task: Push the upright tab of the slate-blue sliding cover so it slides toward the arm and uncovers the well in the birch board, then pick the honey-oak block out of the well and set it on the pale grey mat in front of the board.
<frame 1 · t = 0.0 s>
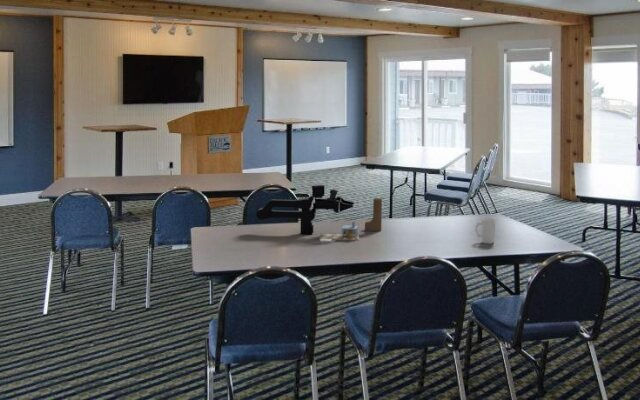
hand: (353, 204, 391), 17 cm above the table, tool horizontal, fingers open, 9 cm apart
block: (349, 238, 384), resting in board
board: (339, 237, 385), on the table
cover: (349, 228, 384), point 5 cm above the table, slide at 0.0 cm
mat: (325, 240, 377), on the table
mug: (484, 242, 375), on the table
wooden block: (373, 230, 406), on the table
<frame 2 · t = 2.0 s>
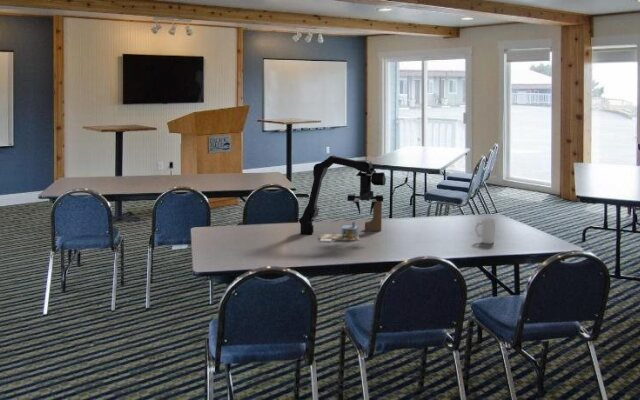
hand: (365, 214, 382), 13 cm above the table, tool pointing down, fingers open, 5 cm apart
nothing on the table moved.
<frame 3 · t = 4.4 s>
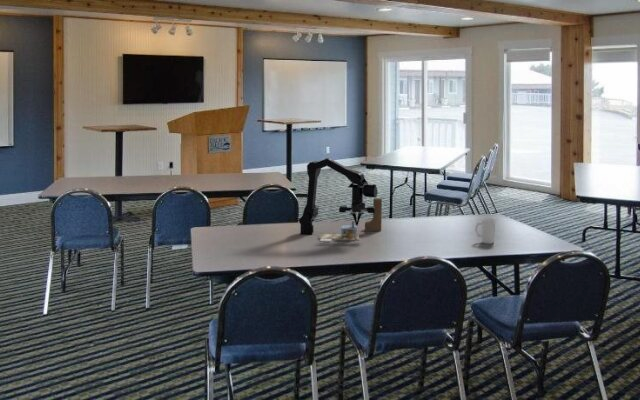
hand: (356, 225, 383), 7 cm above the table, tool pointing down, fingers closed
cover: (349, 228, 384), point 5 cm above the table, slide at 0.3 cm, touching gripper
everything else where it was.
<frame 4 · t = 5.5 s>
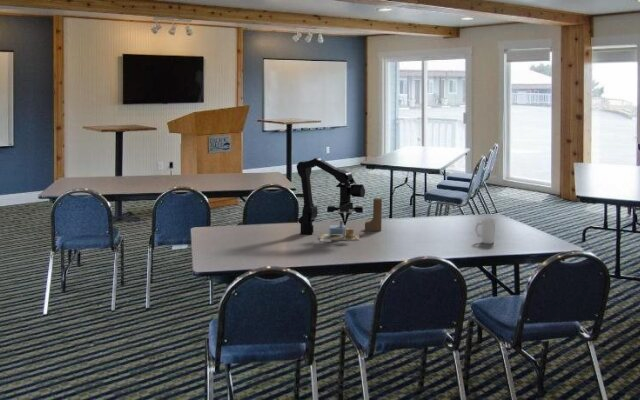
hand: (344, 225, 384), 7 cm above the table, tool pointing down, fingers closed
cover: (337, 228, 384), point 5 cm above the table, slide at 6.6 cm, touching gripper
everything else where it was.
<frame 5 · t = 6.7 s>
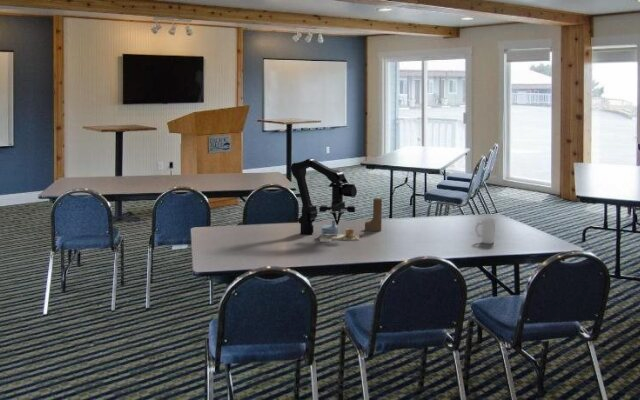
hand: (337, 224, 384), 7 cm above the table, tool pointing down, fingers closed
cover: (329, 228, 385), point 5 cm above the table, slide at 10.6 cm, touching gripper
everything else where it was.
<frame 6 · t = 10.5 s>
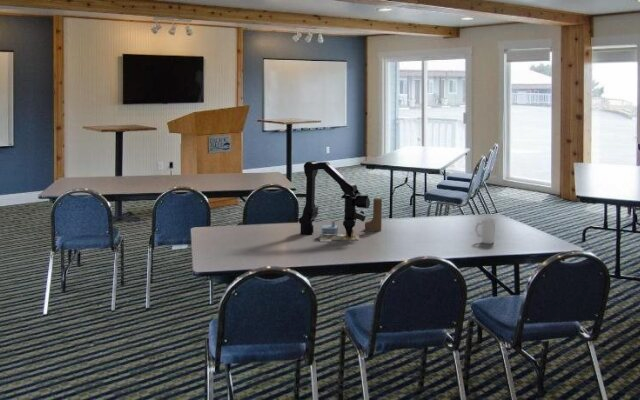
hand: (349, 236, 384), 1 cm above the table, tool pointing down, fingers closed on block, 4 cm apart
block: (349, 238, 384), resting in board, touching gripper
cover: (329, 228, 385), point 5 cm above the table, slide at 10.7 cm
everything else where it was.
when the fingers open (3 cm above the table, at t = 14.9 s): block drops 1 cm, resting on mat.
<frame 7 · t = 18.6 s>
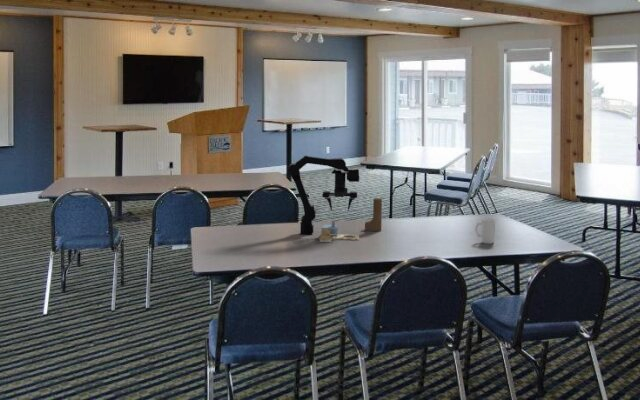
hand: (339, 210, 394), 13 cm above the table, tool pointing down, fingers open, 9 cm apart
block: (325, 239, 377), point 1 cm above the table, touching mat
everything else where it was.
at the end: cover slide at 10.7 cm; block inside the target area (0.1 cm from its centre), point 0.6 cm above the table; the gripper is holding nothing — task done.
